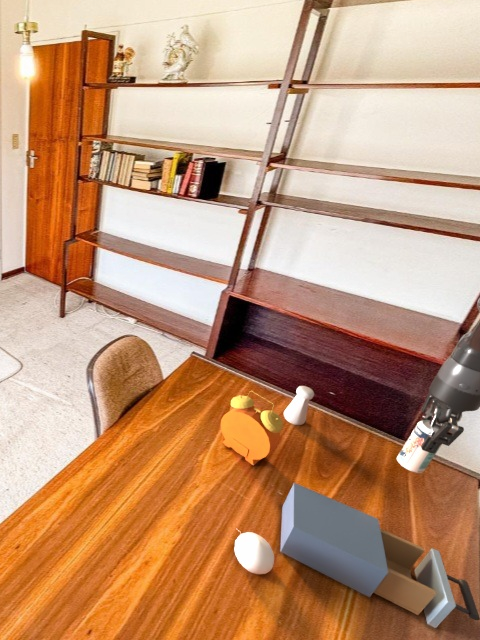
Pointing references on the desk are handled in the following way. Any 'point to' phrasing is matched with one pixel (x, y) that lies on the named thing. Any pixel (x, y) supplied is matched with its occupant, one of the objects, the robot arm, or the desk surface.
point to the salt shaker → (299, 406)
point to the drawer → (421, 582)
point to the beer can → (416, 449)
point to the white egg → (254, 553)
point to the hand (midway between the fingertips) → (424, 442)
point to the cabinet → (333, 539)
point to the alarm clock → (251, 429)
